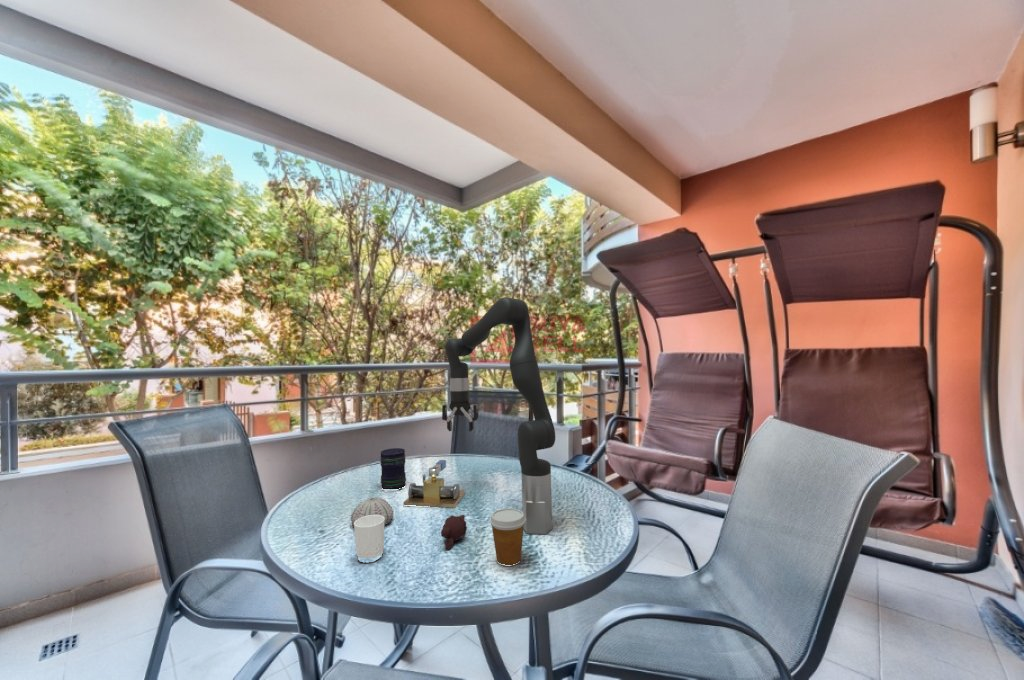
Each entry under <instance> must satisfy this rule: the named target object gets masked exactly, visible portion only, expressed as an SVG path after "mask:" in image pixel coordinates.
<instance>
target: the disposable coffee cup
mask: <svg viewBox="0 0 1024 680" xmlns="http://www.w3.org/2000/svg"><path fill="white" fill-rule="evenodd" d="M525 521H526V519H525V517H524V514H523V512H522V510H520V509H517V508H510V507H509V508H500V509H496V510H495V511H493V512H492V513H491V516H490V518H489V522H490V525H491V528H492V529H491V530H492V537H493V542H494V543H493V544H494V550H495V557H496V562H497V561H498V562H499V563H501V564H505V565H513V564H516V563H518V562H519V561H520V560H521V559H522V551H523V550H522V547H523V538H524V524H525ZM521 561H522V560H521ZM521 561H520V562H521Z"/></svg>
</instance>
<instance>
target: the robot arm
mask: <svg viewBox="0 0 1024 680" xmlns="http://www.w3.org/2000/svg"><path fill="white" fill-rule="evenodd" d="M499 325H506V326H507V325H509V326H512V329H513V335H514V345H513V349H512V351H511V353H510V354H511V355H510V359H509V368H510V374H511V379H512V383H513V385H514V387H515V388H516V390H517V391H518V392H519V393H520V394H521V396H522V397H523V398H524V399H525V400H526V402H527V403H528V405H529V407H530V408H531V412H532V413H533V418H534V420H532V419H531V420H526V421H522V422H521V423H520V424H519V426H518V429H517V447H518V448H517V449H518V458H519V459H518V460H519V465H520V470H521V471H520V474H521V476H520V477H521V507H522V509H521V511H522V512H523V514H524V517H525V519H526V521H525V524H524V529H523V531H525V534H530V535H532V534H533V535H534V534H535V535H547V534H548V533H549V532H550V531H552V529H553V502H552V501H553V500H552V467H551V466H552V465H551V463H550V462H549V461H548V460H545V459H543V458H542V459H541V458H539V457H538V452H537V451H541V450H546V449H551V448H553V447H554V445H555V442H556V430H555V425H554V421H553V419H552V415H551V413H550V410H549V406H548V403H547V400H546V396H545V392H544V388H543V384H542V379H541V373H540V368H539V364H538V360H537V356H536V351H535V347H534V340H533V335H532V327H531V319H530V311H529V307H528V305H527V303H526V302H525V301H524V300H522V299H519V298H514V297H508V296H506V297H501V298H499V299H497V301H495V302H494V303H493V304H492V306H491V307H490V308H489V309H488V310H487V312H485V313H484V314H483V316H482V317H481V318H480V319H479V320H478V321H477V322H476V323H475V324H473V325H472V326H471V327H469V328H468V329H467V330H466V331H464V332H463V333H462V335H461V338H449V339H448V340H447V341H446V343H445V346H444V347H445V348H444V349H445V350H444V351H445V355H446V357H447V362H448V365H449V368H450V369H449V371H450V372H449V373H450V376H449V377H450V379H449V400H450V403H449V404H447V403H445V404H442V405H441V407H442V408H441V410H442V411H441V412H442V413H441V419H442V421H444V422H445V421H446V429H447V430H448V432H452V431H453V421H452V420H453V418H454V417H455V416H457V417H458V416H465V417H466V419H468V421H469V422H468V426H469V427H468V431H469V432H472V431H473V430H474V429H475V428H474V427H475V425H474V422H475V421H477V420H478V419H479V406H478V405H479V404H477V403H475V404H471V402H470V380H469V366H468V363H466V362H463V361H461V360H460V357H466V356H469V355H471V354H472V353H473V351H475V349H476V347H477V346H479V345H481V344H482V343H483V342H485V341H486V340H487V339H488V338H489V336H490V334H491V331H492V329H493V328H495V327H497V326H499ZM470 409H471V410H472V411H473V415H472V413H471V412H470ZM449 410H450V411H451V412H450V414H449V416H448V411H449Z"/></svg>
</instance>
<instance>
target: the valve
mask: <svg viewBox="0 0 1024 680" xmlns="http://www.w3.org/2000/svg"><path fill="white" fill-rule="evenodd" d="M422 484H423V485H420V484H419V485H417V483H416V482H412V483H409V486H408V489H407V490H408V491H407V492H408V493H407V499H405V501H403V506H404V505H416V506H430V507H429V508H432V507H451V508H450V509H455V508H456V507H457V506H458V504H459V503H460V502H461V500H462V499H463V497H464V496H465V493H466V490H465V489H461V488H460V487H461V486H460V484H459V483H455V484H454V486H453V485H451V486H450V485H445V478H443V477H442V478H441V477H437V476H436V477H428V478H427V479H426V474H425V473H423V474H422ZM463 495H464V496H463ZM461 498H462V499H461ZM460 499H461V500H460ZM458 502H459V503H458ZM456 505H457V506H456ZM455 506H456V507H455ZM452 507H453V508H452Z"/></svg>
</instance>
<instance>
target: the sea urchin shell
mask: <svg viewBox="0 0 1024 680" xmlns="http://www.w3.org/2000/svg"><path fill="white" fill-rule="evenodd" d="M394 512H395V511H394V509H393V506H391V504H390V503H389V501H387V500H386V499H384V498H382V497H380V496H379V497H378V496H377V497H376V496H375V497H368V498H366V499H365V500H363V501H361V502H360V503H358V504H357V505H356V506H355V508H354V509H353V511H352V512H351V514H350V521H351V523H352V524H353V525H354V522H355V521H356V520H357V519H359V518H361V517H364V516H368V515H381V516H383V517H384V518H385V523H384V526H385V525H387V524H389V523H390V522H392V520H393V517H394V514H395V513H394ZM391 519H392V520H391ZM388 522H389V523H388ZM386 523H387V524H386Z"/></svg>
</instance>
